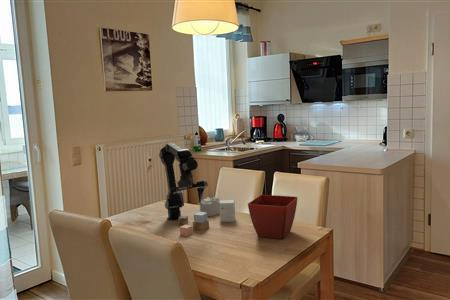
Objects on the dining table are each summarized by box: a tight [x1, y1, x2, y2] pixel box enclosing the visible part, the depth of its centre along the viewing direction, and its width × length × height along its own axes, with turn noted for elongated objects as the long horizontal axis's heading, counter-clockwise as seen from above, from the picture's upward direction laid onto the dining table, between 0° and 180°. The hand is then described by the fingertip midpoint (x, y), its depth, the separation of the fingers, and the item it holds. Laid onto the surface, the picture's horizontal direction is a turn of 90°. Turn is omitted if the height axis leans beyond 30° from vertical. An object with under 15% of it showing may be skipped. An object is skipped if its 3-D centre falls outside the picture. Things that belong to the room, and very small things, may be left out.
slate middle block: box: [193, 211, 208, 223], centre depth 204 cm, size 5×5×4 cm
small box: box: [219, 199, 236, 223], centre depth 215 cm, size 8×6×10 cm
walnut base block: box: [192, 219, 210, 232], centre depth 204 cm, size 6×6×4 cm
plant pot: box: [247, 194, 298, 240], centre depth 190 cm, size 19×19×17 cm
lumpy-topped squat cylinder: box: [199, 196, 223, 217], centre depth 231 cm, size 10×13×9 cm
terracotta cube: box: [179, 224, 194, 237], centre depth 197 cm, size 4×4×4 cm
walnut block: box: [177, 215, 189, 226], centre depth 213 cm, size 4×4×4 cm
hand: (191, 204), depth 197 cm, fingers open, 9 cm apart
